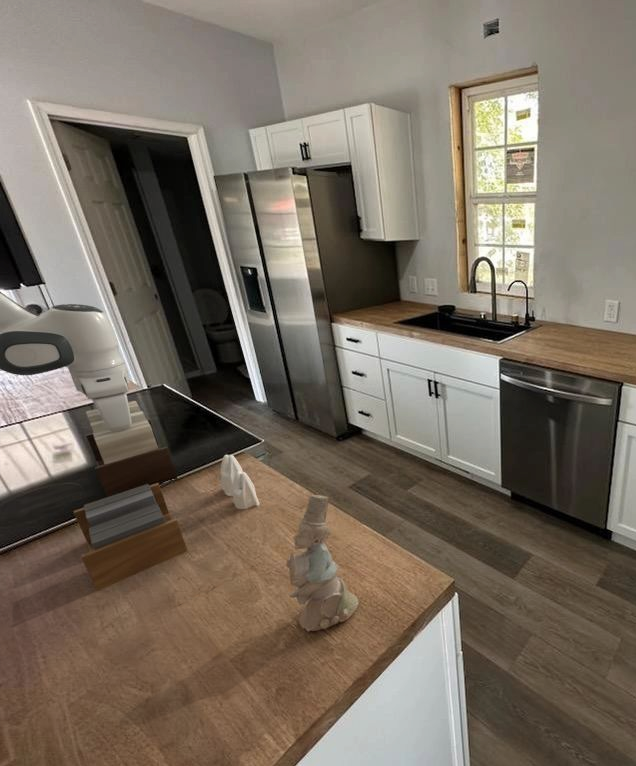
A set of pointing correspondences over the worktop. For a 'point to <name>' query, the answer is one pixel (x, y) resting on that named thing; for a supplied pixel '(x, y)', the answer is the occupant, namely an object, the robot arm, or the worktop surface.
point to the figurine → (318, 572)
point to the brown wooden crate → (129, 455)
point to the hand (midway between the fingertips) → (121, 433)
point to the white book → (102, 426)
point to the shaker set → (237, 484)
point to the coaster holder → (128, 534)
